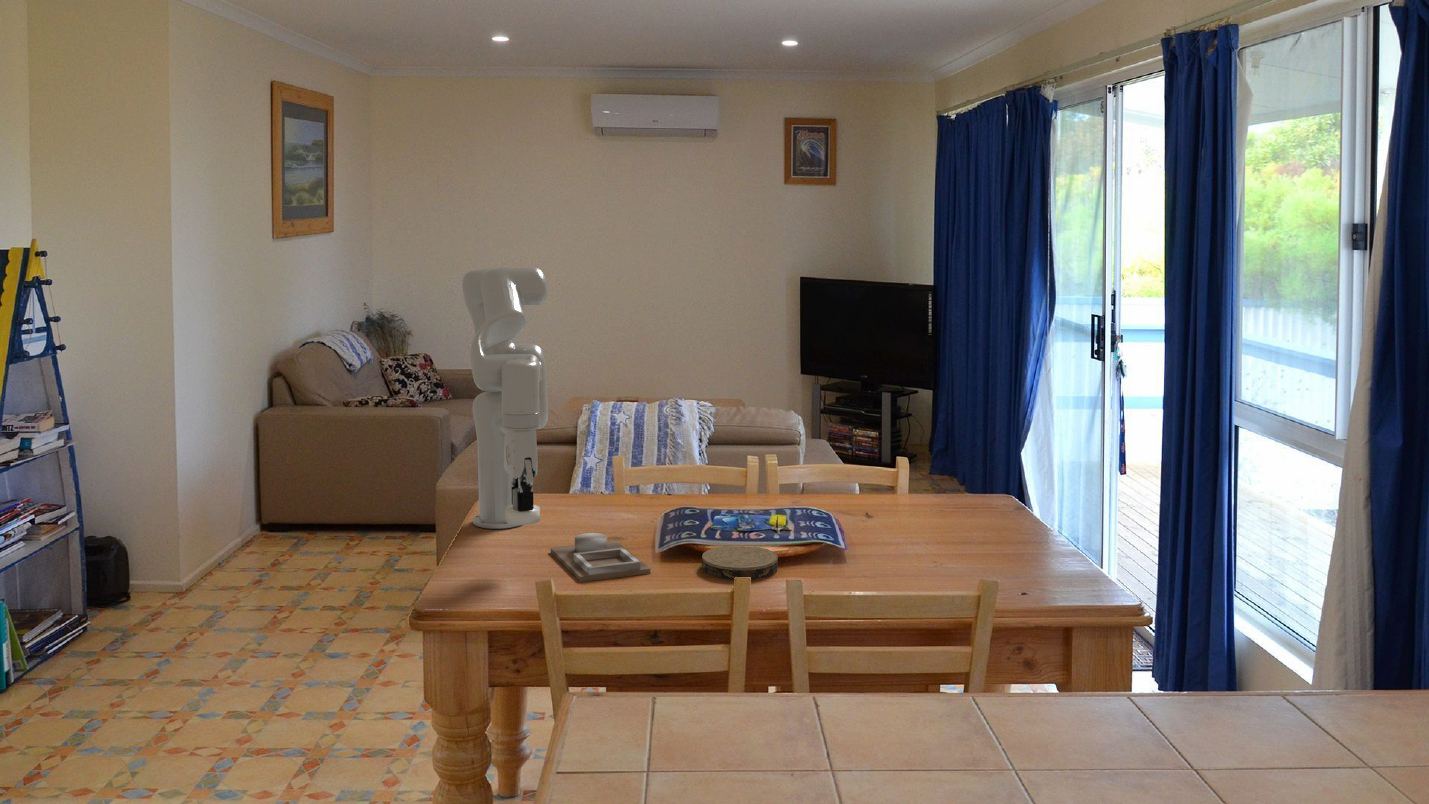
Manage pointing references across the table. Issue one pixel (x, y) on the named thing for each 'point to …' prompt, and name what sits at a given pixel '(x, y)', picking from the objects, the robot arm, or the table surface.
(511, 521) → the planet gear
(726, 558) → the grey brown round disc
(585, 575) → the carrier board
